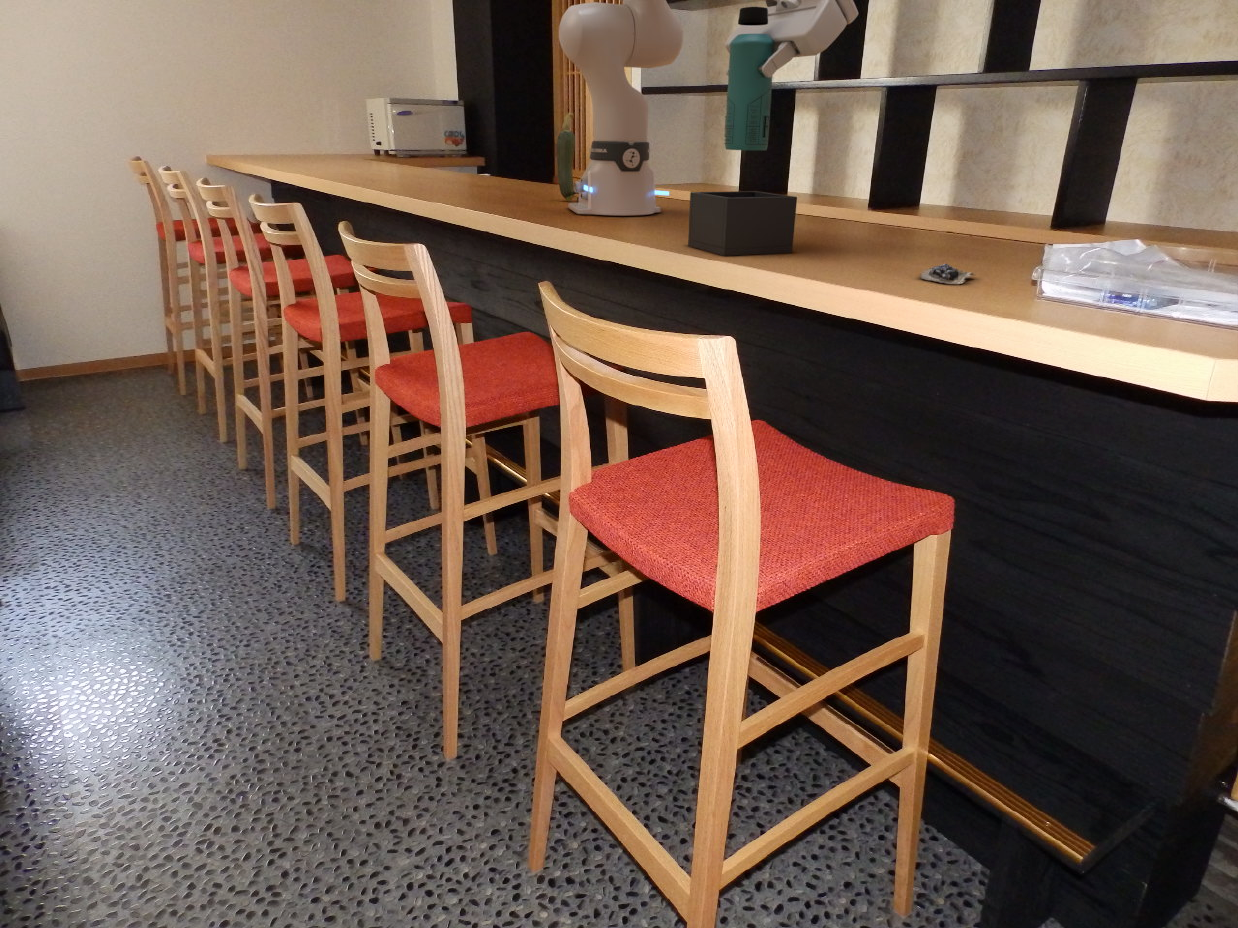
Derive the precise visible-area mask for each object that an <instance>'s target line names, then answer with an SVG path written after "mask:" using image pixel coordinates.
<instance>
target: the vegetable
mask: <svg viewBox="0 0 1238 928" xmlns="http://www.w3.org/2000/svg"><path fill="white" fill-rule="evenodd" d="M574 115H575V114H574V113H572V112H568V113H567V114H566V115H565V117H564V120H563V123H562V127H561V128H562V130H561V131H560V132H559V133H558V136H557V138H556V139H557V140H556V163H557V165H556V166H557V182H558V186H559V192H560V194H561V196H562V197H563V198H564V200H565V201H566V202H571V200H573V199H574V198H573V197H574V195H573V193H574V178H573V161H574V157H575V149H576V137H575V134H574V132H573V131H572V130H571V126H572V120H574V118H575V116H574Z"/></svg>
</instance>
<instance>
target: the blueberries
mask: <svg viewBox="0 0 1238 928" xmlns="http://www.w3.org/2000/svg"><path fill="white" fill-rule="evenodd" d="M920 276H921V277H920V279H921V280H922V279H923V280H925V281H932V282H938V283H941V284H944V285H960V284H963V283H964V282H966V281H967V280H966V279H969V278H970V277H972V276H976V274H974V273H973V272H970V271H963V270H959V268H956V267H952V265H951V264H948V263H943V264H940V265H935V266H933V267H931V268H929V269H924V270H923V271H922V272H921V273H920Z"/></svg>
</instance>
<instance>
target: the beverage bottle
mask: <svg viewBox="0 0 1238 928" xmlns="http://www.w3.org/2000/svg"><path fill="white" fill-rule="evenodd" d="M737 24H738V25H739V26H740V25H749V26H756V25H767V24H768V9H767V8H766V7H763V6H745V7H741V8H740V9H739V13H738V20H737ZM773 50H774V43H773V41H772V40H771V38H770V37H769V36H768V35H767V34H739V35H737V36H736V37H735V38H734V39H733V40H732V41H731V43H730V54H729V57H728V58H729V59H728V67H729V77H728V76H727V77H728V78H727V79H728V80H727V89H726V93H725V95H726V99H725V101H726V110H725V111H726V113H725V114H726V115H724V129H725V133H724V146H725V150H728V151H767V149H768V147H769V142H770V140H769V137H770V136H771V135H770V128H771V117H772V116H771V112H772V110H771V106H772V103H773V102H772V101H773V99H772V98H773V97H772V96H773V93H772V86H773V85H774V84H773V78H774V77H773V76H774V75H772V77H767V78H763V77H762V76H761V74H760V73H759V72H758V67H759V66H760V65H761V64H762V62H763V61H764V60H765V59H769V58H770V57H771V56H772V55H773Z"/></svg>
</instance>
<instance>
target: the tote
mask: <svg viewBox="0 0 1238 928" xmlns="http://www.w3.org/2000/svg"><path fill="white" fill-rule="evenodd" d="M797 202H798V197H797V196H794V195H786V194H779V193H772V192H764V191H759V190H742V191H741V190H739V191H736V190H735V191H690V193H689V214H688V236H687V237H688V238H687V239H688V240H687V246H688V247H691V248H694V249H698V250H702V251H706V252H709V253H712V254H716V255H720V256H722V257H732V256H733V257H734V256H753V255H775V254H777V255H778V254H792V253H793V250H794V249H793V248H794V247H793V246H794V237H795V226H796V214H797Z"/></svg>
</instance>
